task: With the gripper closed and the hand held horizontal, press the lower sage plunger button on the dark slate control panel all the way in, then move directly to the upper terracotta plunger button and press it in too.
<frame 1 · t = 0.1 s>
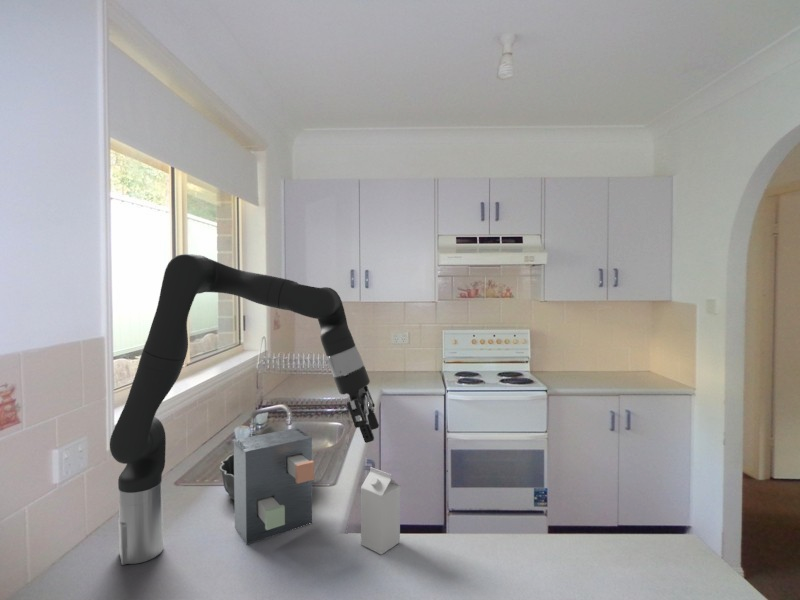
hand: (372, 434, 110), 31 cm above the countertop, tool tilted 20°, fingers open, 8 cm apart
sage button: (269, 510, 120), point 8 cm above the countertop, slide at 0.0 cm
terracotta button: (298, 466, 124), point 18 cm above the countertop, slide at 0.0 cm
milk carton: (380, 544, 120), on the countertop
bundt pan: (264, 492, 149), on the countertop
control panel: (279, 531, 126), on the countertop
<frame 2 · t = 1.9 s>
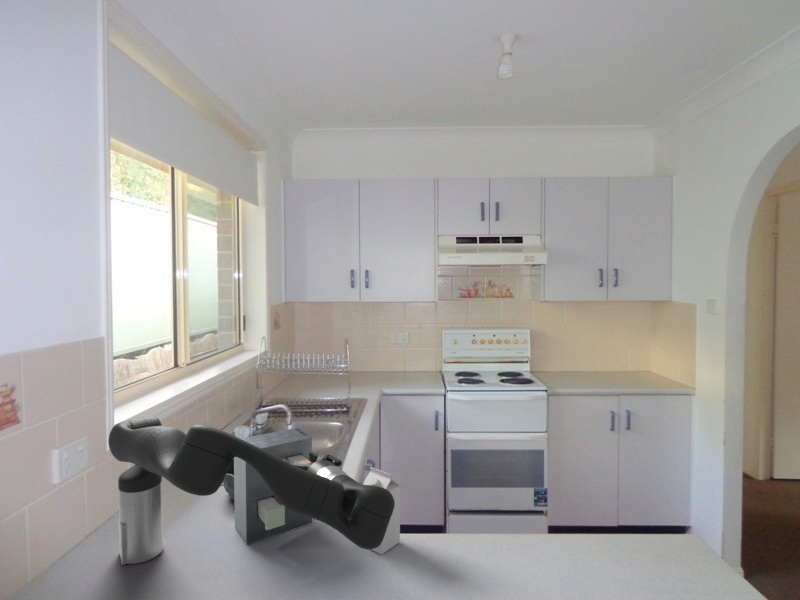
hand: (296, 459, 113), 24 cm above the countertop, tool horizontal, fingers open, 6 cm apart
nothing on the countertop moved.
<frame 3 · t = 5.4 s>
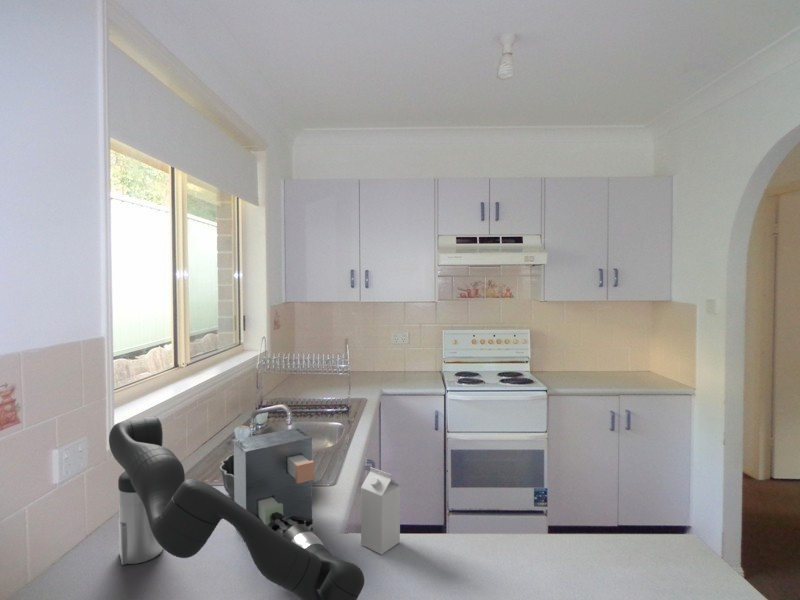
hand: (274, 516, 117), 8 cm above the countertop, tool horizontal, fingers closed
sage button: (267, 508, 121), point 8 cm above the countertop, slide at 1.1 cm, touching gripper
everything else where it was.
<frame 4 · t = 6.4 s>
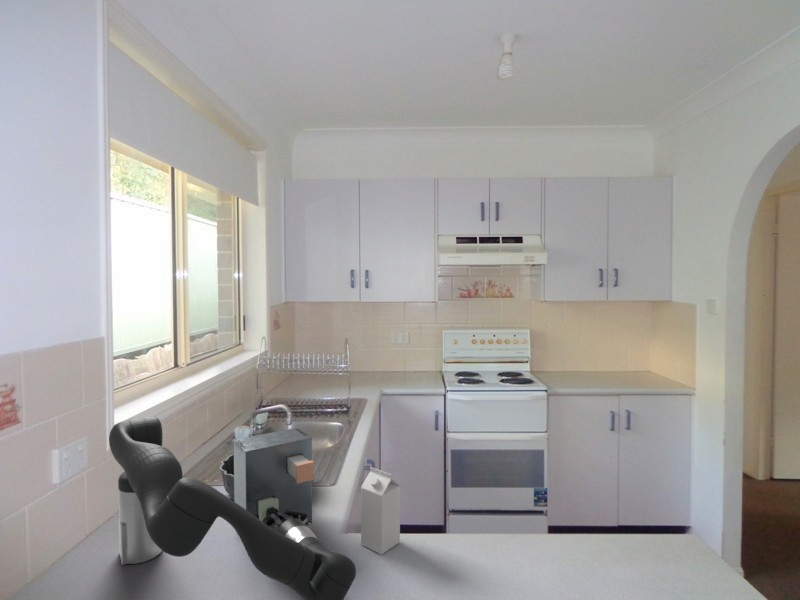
hand: (269, 511, 119), 8 cm above the countertop, tool horizontal, fingers closed
sage button: (263, 504, 123), point 9 cm above the countertop, slide at 4.2 cm, touching gripper
everything else where it was.
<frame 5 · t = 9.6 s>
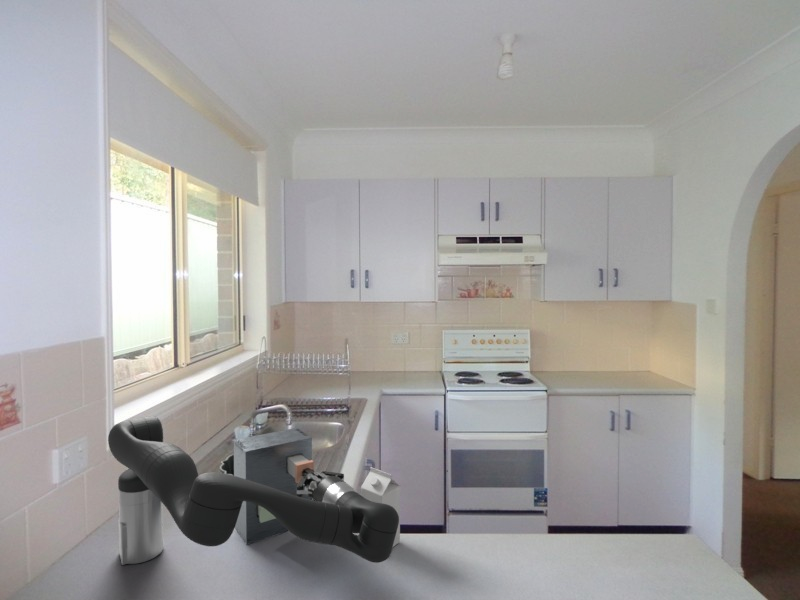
hand: (305, 472, 120), 18 cm above the countertop, tool horizontal, fingers closed
sage button: (263, 504, 123), point 9 cm above the countertop, slide at 4.2 cm
terracotta button: (298, 466, 124), point 18 cm above the countertop, slide at 0.3 cm, touching gripper
everything else where it was.
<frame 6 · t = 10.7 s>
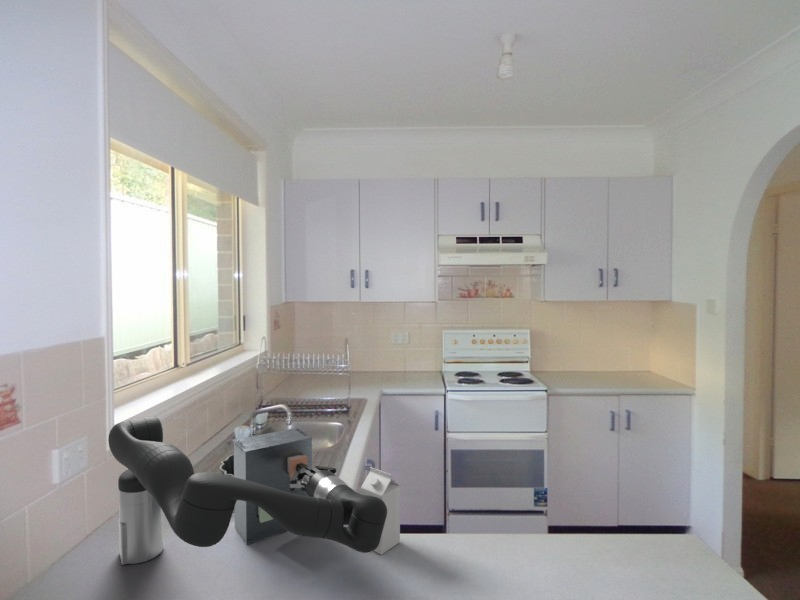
hand: (299, 467, 124), 18 cm above the countertop, tool horizontal, fingers closed
terracotta button: (292, 461, 127), point 18 cm above the countertop, slide at 4.2 cm, touching gripper
everything else where it was.
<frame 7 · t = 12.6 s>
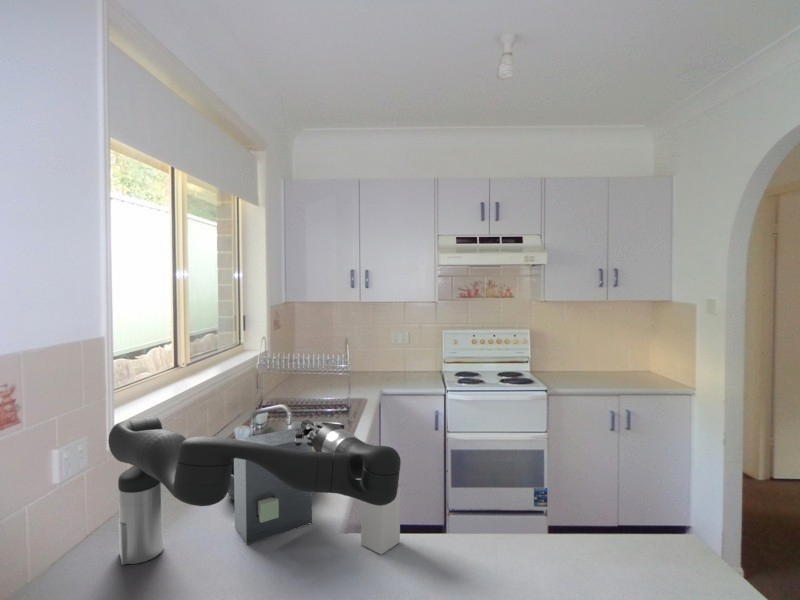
hand: (304, 424, 116), 32 cm above the countertop, tool horizontal, fingers closed
terracotta button: (292, 461, 127), point 18 cm above the countertop, slide at 4.2 cm
everything else where it was.
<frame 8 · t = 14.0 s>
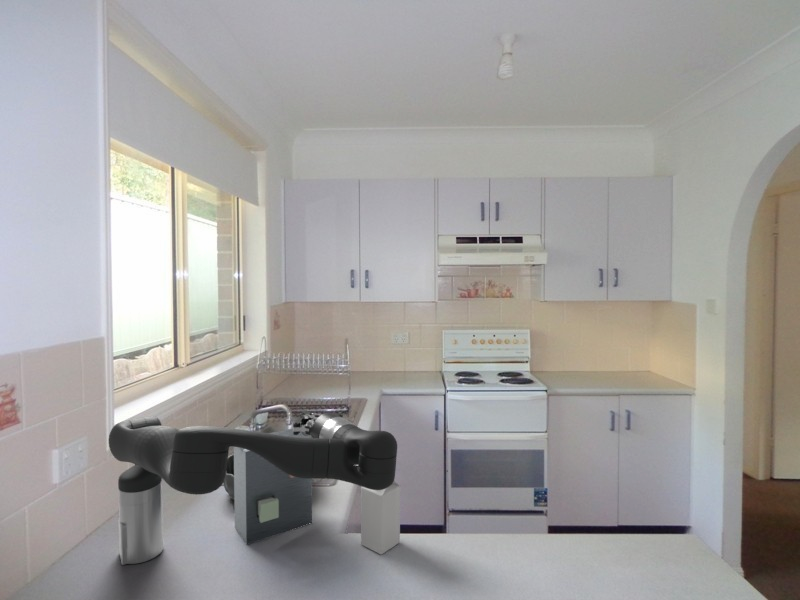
hand: (302, 414, 116), 34 cm above the countertop, tool horizontal, fingers closed
nothing on the countertop moved.
at the end: sage button slide at 4.2 cm; terracotta button slide at 4.2 cm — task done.
